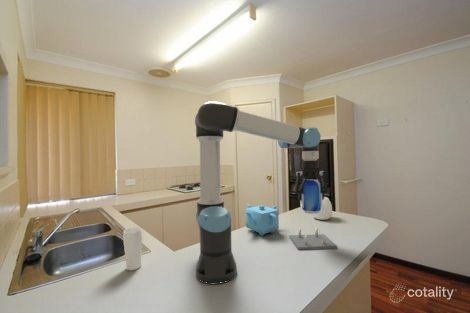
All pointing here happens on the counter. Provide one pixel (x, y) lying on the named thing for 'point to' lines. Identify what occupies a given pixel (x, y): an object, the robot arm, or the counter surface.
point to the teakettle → (262, 219)
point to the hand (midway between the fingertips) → (311, 206)
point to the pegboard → (312, 241)
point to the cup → (324, 210)
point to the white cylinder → (133, 247)
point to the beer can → (311, 196)
